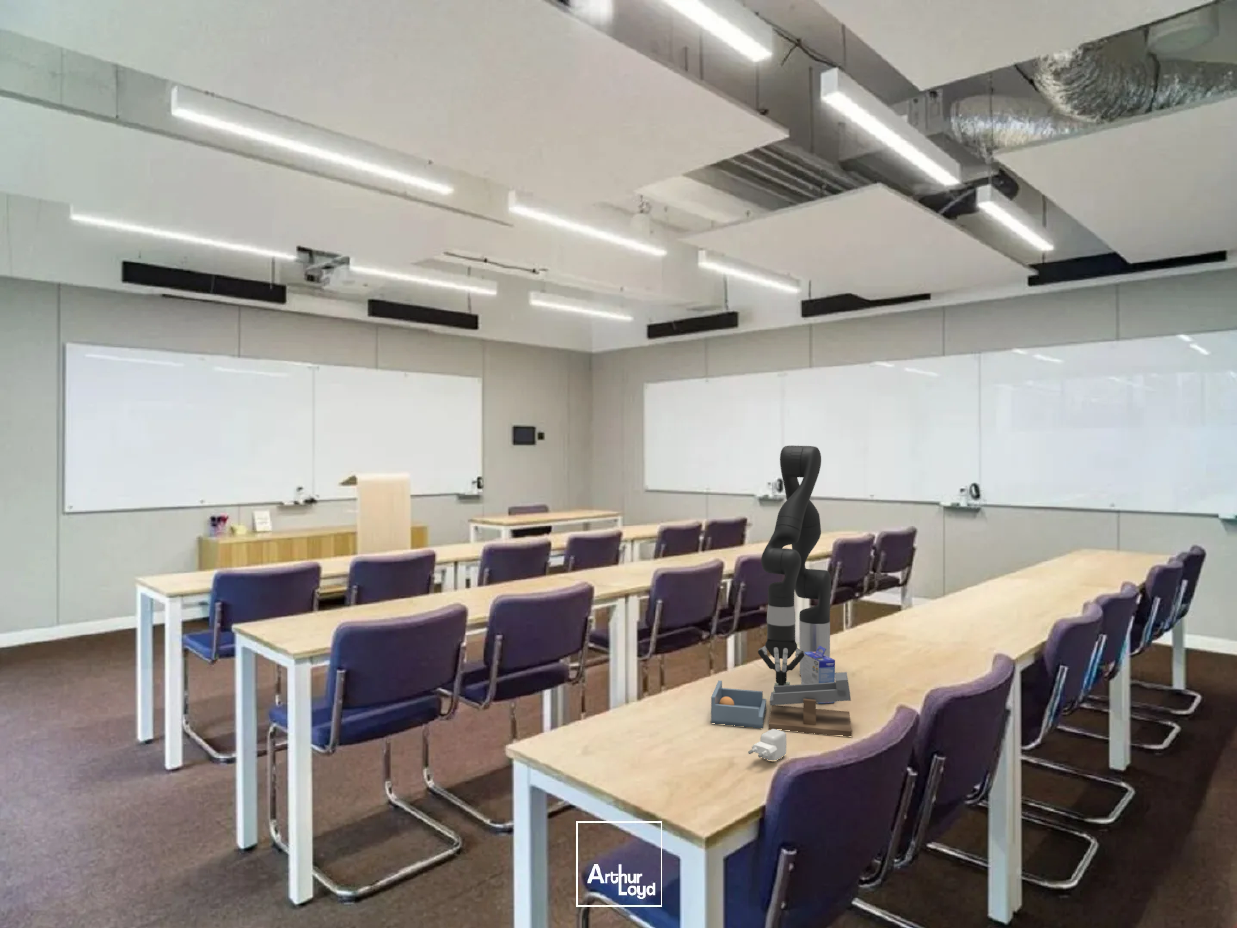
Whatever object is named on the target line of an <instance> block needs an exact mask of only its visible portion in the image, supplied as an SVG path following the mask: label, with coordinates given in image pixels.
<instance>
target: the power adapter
mask: <svg viewBox="0 0 1237 928" xmlns="http://www.w3.org/2000/svg"><path fill="white" fill-rule="evenodd" d="M759 740H760V741H758V742H756V743H754V744H753V745H752V746H751V749H750V750H749V751H748V752H747V754H748V755H751V754H753V753H755V754H758V756H757V757H758V758H761V757H762V758H765V759H768V760H777V759H779V758H781V757H782V756H784V755H785V754H786V755H787V733H786V731H780V730H777V729H771V730H769V729H768V730H767V731H766V732H764V733H762V734H761V735H760V739H759ZM786 755H785V756H786ZM785 756H784V757H785ZM762 758H761V759H762ZM781 759H782V758H781Z"/></svg>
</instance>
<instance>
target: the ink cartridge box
mask: <svg viewBox="0 0 1237 928" xmlns="http://www.w3.org/2000/svg"><path fill="white" fill-rule="evenodd" d="M819 649H822V650H823V653H821V652H819ZM825 651H826V649H825V648H823V647H821V646H819V647H818V649H817V651H816V652H804V653H805V654H804V657H803V658H802V672H801V677H800V678H801V679H800V682H801V683H800V684H814V683H829V682H835V673H836V659H835V658H832V657H831V656H830V657H828V656H826V655H824V653H825ZM817 704H818V705H820V704H821V705H823V704H835V702H818V703H816V705H817Z"/></svg>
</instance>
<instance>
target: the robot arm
mask: <svg viewBox="0 0 1237 928" xmlns="http://www.w3.org/2000/svg"><path fill="white" fill-rule="evenodd" d="M779 465H780V467H779V468H780V472H781V478H782V483H783V487H784V492H785V498H786V501H785V502H784V503H783V504H782V506H781V507H780V509H779V511H778V513H777V517H776V522H775V526H774V531H773V533H772V535H771V537H770V539H769V541H768V543H767V544H766V546H765V547H764V550H763V551H762V554H761V560H760V564H761V567H762V569H763V571H764V572H765V573H768V574H774V575H775V574H776V575H784V576H785V577H784V579H783V580H782V581H777V582H776V581H774V582H771V583H770V584H769V585H768V587H767V611H766V612H767V613H766V633H767V634H766V641H765V645H764V646H762V647H759V648H758V651H757V654H758V656H759V657H760V658H761V659H762V660H763V662H764V663H765V664H766V666H767V667H768V668H769V669H770V670H772V671H773V670H774V671H775V683H778V685H781V686H783V685H784V684H786V682H788V681H787V678H788V675H787V674H788V673H787V672H788V671H789V672H790V671H793V670H794V669H795V668H796V667H797V666H798V664H799V675H800V674H801V672H802V658H803V657H804V654H805V653H804V652H816V651H817V649H818V647H819V646H821V647H823V648H825V649H826V651H825V653H824V655H826V656H828V657H830V658H831V592H832V577H831V574H830V572H829V571H828V570H826V569H815V568H814V569H813V568H806V561H807V560H808V557H809V555H810V554H811V552H812V551H813V549H814V548H815V546H816V545H817V543H818V542H819V540H820V538H821V534H822V528H821V518H820V513H819V510H818V509H817V507H816V506H815V505H814V503H813V502H812V501H811V497H812V494H813V492H814V488H815V486H816V483H817V480H818V478H819V474H820V471H821V466H822V454H821V451H820V449H819V448H818V447H817V446H814V445H813V446H812V445H785V446H783V447H782V449H781V451H780V455H779ZM799 478H802V480H801V482H799V480H798V479H799ZM785 546H791V548H784V547H785ZM795 594H796V596H797V597H798V598H801V599H809V600H818V603H817V604H816V605H814V606H811V607H808V608H803V609H802V610H800V611H799V617H798V618H799V620H798V622H799V625H798V626H799V632H798V633H799V647H798V644H797V642H796V609H795ZM768 652H769V654H770V655H771V657H772V658H774V662H773V661H772V659H771V658H770V656H769V655H768ZM819 652H821V653H823V650H822V649H819ZM793 655H794V656H795V657H794V658H793V659H792V661H791V662H790V663H789V664H788V660H789V659H790V658H791V657H792V656H793ZM781 660H782V662H781ZM781 663H782V664H781ZM781 665H782V666H781Z"/></svg>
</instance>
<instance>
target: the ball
mask: <svg viewBox="0 0 1237 928" xmlns="http://www.w3.org/2000/svg"><path fill="white" fill-rule="evenodd" d="M719 704H722V705H734V701H733V700H732V699H731V698H730V697H723V698H721V700H720V702H719Z"/></svg>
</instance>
